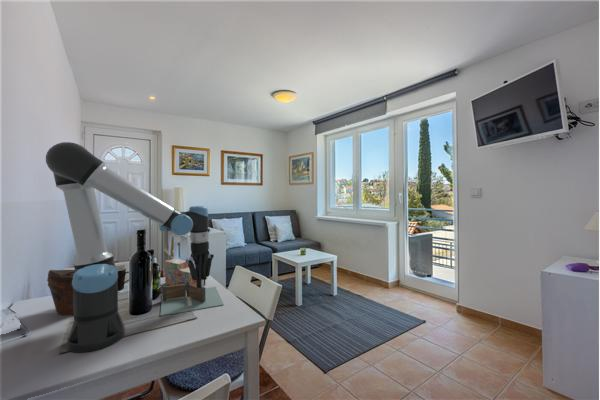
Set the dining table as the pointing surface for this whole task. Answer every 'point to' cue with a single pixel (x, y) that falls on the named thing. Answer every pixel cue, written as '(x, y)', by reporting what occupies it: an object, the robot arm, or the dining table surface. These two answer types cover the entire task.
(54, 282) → the brown flower pot
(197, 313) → the dining table surface
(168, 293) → the bar
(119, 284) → the coffee mug
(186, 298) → the board
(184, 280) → the stack of blocks
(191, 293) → the fence gate
